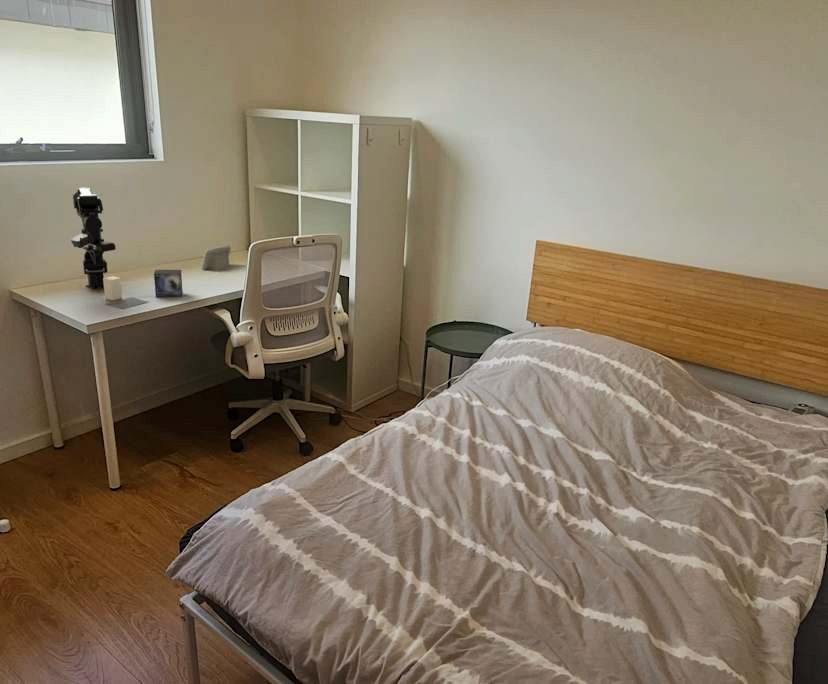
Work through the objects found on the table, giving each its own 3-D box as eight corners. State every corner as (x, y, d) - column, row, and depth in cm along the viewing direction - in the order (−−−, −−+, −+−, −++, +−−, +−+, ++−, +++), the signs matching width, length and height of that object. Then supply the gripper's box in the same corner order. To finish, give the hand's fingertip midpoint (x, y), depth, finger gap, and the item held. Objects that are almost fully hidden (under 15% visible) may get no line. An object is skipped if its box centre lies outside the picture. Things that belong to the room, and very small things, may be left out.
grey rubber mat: (105, 304, 243) (105, 303, 243) (131, 297, 253) (131, 297, 253) (122, 309, 238) (122, 308, 238) (148, 302, 248) (148, 301, 248)
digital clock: (225, 263, 314) (224, 243, 310) (236, 267, 309) (235, 246, 305) (197, 268, 302) (196, 247, 298) (208, 272, 297) (207, 251, 293)
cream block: (105, 299, 248) (102, 278, 245) (115, 297, 252) (112, 276, 249) (112, 301, 246) (110, 280, 243) (122, 299, 250) (120, 278, 247)
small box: (155, 297, 255) (153, 273, 251) (156, 293, 260) (154, 269, 257) (182, 297, 258) (180, 273, 254) (183, 292, 263) (181, 269, 260)
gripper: (57, 225, 240) (63, 264, 245) (88, 232, 232) (93, 272, 237) (84, 222, 249) (88, 259, 254) (114, 229, 241) (118, 267, 246)
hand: (96, 264), depth 248 cm, fingers closed
